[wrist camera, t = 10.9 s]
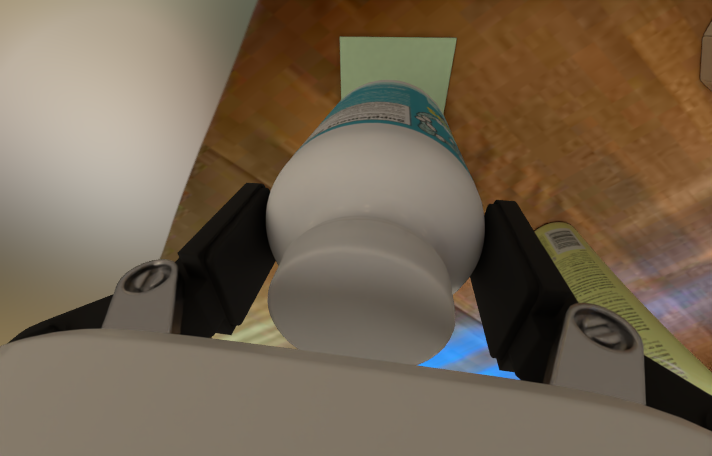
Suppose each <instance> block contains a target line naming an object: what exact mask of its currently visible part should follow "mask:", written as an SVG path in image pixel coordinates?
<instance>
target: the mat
mask: <svg viewBox="0 0 712 456" xmlns="http://www.w3.org/2000/svg"><path fill="white" fill-rule="evenodd" d="M456 39H457V38H425V37H340V66H341V100H342V99H343V98H344V97H345V96H346V95H347V94H349V93H350V92H351V91H353V90H354V89H356V88H358V87H360V86H362V85H364V84H367V83H369V82H373V81H379V80H397V81H402V82H406V83H409V84H411V85H414V86H416V87H418V88H419V89H421V90H423V91H424V92H425V93H426V94H428V95H429V96H430V97H431V98H432V99H433V100H434V101H435V103H436V104H437V105H438V107H439V108H440V110H441V111H442V113H444V108H445V102H446V96H447V91H448V85H449V79H450V74H451V68H452V62H453V57H454V51H455V45H456Z"/></svg>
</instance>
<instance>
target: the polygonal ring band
mask: <svg viewBox="0 0 712 456" xmlns="http://www.w3.org/2000/svg"><path fill="white" fill-rule="evenodd" d="M700 79H701V82H703V83H704V84H705V85H706V86H707V87H708V88H709V89H710V90H711V91H712V21H711V23H710V25H709V27H708V28H707V30H706V32H705V33H704V37H703V39H702V56H701V74H700Z"/></svg>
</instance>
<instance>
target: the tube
mask: <svg viewBox="0 0 712 456" xmlns="http://www.w3.org/2000/svg"><path fill="white" fill-rule="evenodd" d="M535 234H536V235H537V237H538V238H539V240H540V242H541V243H542V245H543V246H544V248H545V249H546V251H547V252H548V254H549V256H550V257H551V259H552V260H553V262H554V264H555V265H556V267H557V269H558V270H559V272H560V273H561V275H562V277H563V278H564V280H565V281H566V283H567V285H568V286H569V288H570V290H571V291H572V293H573V294H574V296H575V298H576V299H577V301H578V302H579V303H590V304H595V305H598V306H602V307H605V308H607V309H609V310H611V311H613V312H615V313H617V314H618V315H619V316H621V317H622V318H624V319H625V320H627V321H628V322H629V323H630V324H631V325H632V326H633V327H634V328H635V329H636V331H637V332H638V333H639V335H640V336H641V339H642V342H643V347H644V355H645V356H647V357H649V358H650V359H652V360H654V361H655V362H657V363H659V364H660V365H662V366H664V367H665V368H667V369H669V370H670V371H672V372H673V373H675V374H677V375H678V376H680V377H682V378H683V379H685V380H687V381H688V382H690V383H692V384H693V385H695V386H697V387H698V388H700V389H702V390H703V391H705V392H707V393H708V394H710V395H712V372H711V371H710V370H709V369H708V368H707V367H705V366H704V365H703V364H702V363H701V362H700V361H699V360H698V359H697V358H696V357H695V356H694V355H693V354H692V353H691V352H690V351H689V350H688V349H687V348H686V347H685V346H683V345H682V344H681V343H680V342H679V341H678V340H677V339H676V338H675V337H674V336H673V335H672V334H671V333H670V332H669V331H668V330H667V329H666V328H665V327H664V326H663V325H662V324H661V323H660V322H659V321H658V320H657V318H656V317H655V316H654V315H653V314H652V313H651V312H650V311H649V310H648V309H647V308H646V307H645V306H644V305H643V304H642V303H641V302H640V301H639V300H638V299H637V298H636V297H635V296H634V295H633V294H632V293H631V291H630V290H629V289H628V288H627V287H626V286H625V285H624V284H623V283H622V282H621V281H620V280H619V279H618V277H617V276H616V275H615V274H614V273H613V272H612V271H611V270H610V269H609V267H608V266H607V265H606V264H605V263H604V262H603V261H602V260H601V258H600V257H599V256H598V255H597V254H596V253H595V252H594V250H593V249H592V248H591V247H590V246H589V245H588V243H587V242H586V241H585V240H584V239H583V238H582V237H581V235H580V234H579V233H578V232H577V231H576V230H575V228H574V227H573V226H571V225H569V224H567V223H562V222H555V223H550V224H546V225H544V226H542V227H540V228H539V229H537V230H536V231H535Z"/></svg>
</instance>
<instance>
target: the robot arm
mask: <svg viewBox="0 0 712 456" xmlns="http://www.w3.org/2000/svg"><path fill="white" fill-rule="evenodd" d="M269 195H270V190H269V189H268V188H265V186H264V185H263V184H259V183H246V184H245V185H244V186H243V187H242V188H241V189H240V190H239V191H238V192H237V193H236V194H235V195H234V196H233V197H232V198H231V199H230V200H229V201H228V202H227V203H226V204H225V205H224V206H223V207H222V208H221V209H220V210H219V211H218V212H217V213H216V214H215V215H214V216H213V217H212V218H211V219H210V220H209V221H208V222H207V223H206V224H205V225H204V226H203V227H202V229H201V230H200V231H199V232H198V233H197V234H196V235H195V236H194V237H193V238H192V239H191V240H190V241H189V242H188V243H187V244H186V245H185V246H184V247H183V248H182V249H181V250H180V251H179V252H178V255H179V259H178V260H177V261H176V262H173V261H171V260H166V259H159V260H152V261H149V262H146V263H143V264H141V265H138V266H136V267H135V268H133V269H131V270H130V271H128V272H127V273H126V274H125V275H124V276H123V277H122V278H121V279H120V280H119V282H118V284H117V286H116V289H115V292H114V294H113V295H110V296H108V297H105V298H103V299H100V300H97V301H95V302H92V303H89V304H87V305H84V306H82V307H79V308H76V309H74V310H71V311H69V312H66V313H64V314H61V315H58V316H56V317H53V318H51V319H48V320H45V321H43V322H40V323H38V324H36V325H34V326H31V327H29V328H27V329H25V330H24V331H23V332H21V333H20V334H18V335H17V336H16V337H15V338H13V339H12V340H11V341H10V342H9V343H7V344H5V345H2V346H0V456H712V395H710V394H708V393H707V392H705V391H703V390H702V389H700V388H698V387H697V386H695V385H693V384H692V383H690V382H688V381H687V380H685V379H683V378H682V377H680V376H678V375H677V374H675V373H673V372H672V371H670V370H669V369H667V368H665V367H664V366H662V365H660V364H659V363H657V362H655V361H654V360H652V359H650V358H649V357H647V356H645V355H644V347H643V342H642V339H641V336H640V335H639V333H638V332H637V331H636V329H635V328H634V327H633V326H632V325H631V324H630V323H629V322H628V321H627V320H625V319H624V318H622V317H621V316H619V315H618V314H617V313H615V312H613V311H611V310H609V309H607V308H605V307H602V306H598V305H595V304H590V303H579V302H578V301H577V299H576V298H575V296H574V294H573V293H572V291H571V290H570V288H569V286H568V285H567V283H566V281H565V280H564V278H563V277H562V275H561V273H560V272H559V270H558V269H557V267H556V265H555V264H554V262H553V260H552V259H551V257H550V256H549V254H548V252H547V251H546V249H545V248H544V246H543V245H542V243H541V242H540V240H539V238H538V237H537V235H536V234H535V232H534V230H533V229H532V227H531V225H530V224H529V222H528V221H527V219H526V217H525V216H524V214H523V213H522V211H521V209H520V208H519V206H518V204H517V203H516V202H515V201H504V200H496V201H495V202H494V204H489V205H488V207H487V209H486V212H485V216H484V219H485V236H484V244H483V249H482V253H481V256H480V259H479V261H478V263H477V265H476V267H475V269H474V271H473V272H472V274H471V275H470V278H471V282H472V286H473V290H474V294H475V298H476V302H477V305H478V309H479V313H480V317H481V321H482V325H483V329H484V333H485V337H486V341H487V344H488V348H489V352H490V355H491V357H492V358H496V359H497V363H498V366H499V370H502V371H510V372H515V375H516V376H517V377H518V378H519V379H521V380H515V379H509V378H502V377H495V376H488V375H481V374H474V373H466V372H459V371H452V370H445V369H438V368H430V367H423V366H416V365H409V364H402V363H394V362H387V361H379V360H372V359H364V358H357V357H350V356H342V355H335V354H327V353H320V352H312V351H304V350H297V349H289V348H282V347H274V346H266V345H258V344H251V343H243V342H235V341H227V340H219V339H212V336H214V334H215V333H220V334H228V335H232V333H233V331H234V329H235V327H236V326H237V325H238V326H239V325H241V324H242V322H243V320H244V319H245V317H246V315H247V313H248V311H249V309H250V307H251V306H252V304H253V302H254V300H255V298H256V296H257V294H258V293H259V291H260V289H261V287H262V285H263V283H264V281H265V280H266V278H267V276H268V274H269V272H270V270H271V268H272V267H273V265H274V263H275V261H276V260H275V258H274V256H273V254H272V251H271V248H270V245H269V241H268V237H267V232H266V208H267V202H268V198H269Z"/></svg>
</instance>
